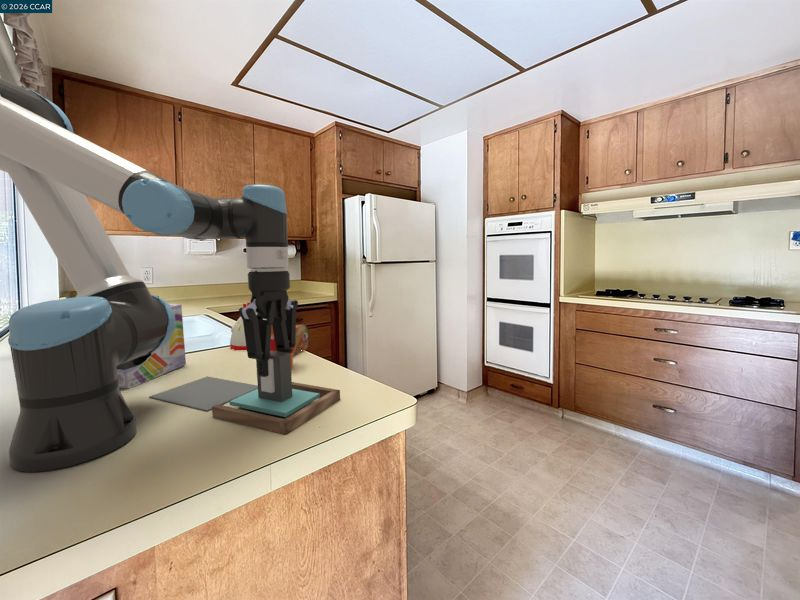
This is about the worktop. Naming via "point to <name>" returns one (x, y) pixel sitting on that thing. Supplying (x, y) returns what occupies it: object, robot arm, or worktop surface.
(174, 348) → the cake pan box
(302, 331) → the tin
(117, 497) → the worktop surface
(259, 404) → the cover plate
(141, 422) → the worktop surface
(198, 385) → the grey mat
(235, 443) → the worktop surface
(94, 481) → the worktop surface
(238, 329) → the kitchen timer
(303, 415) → the walnut frame
